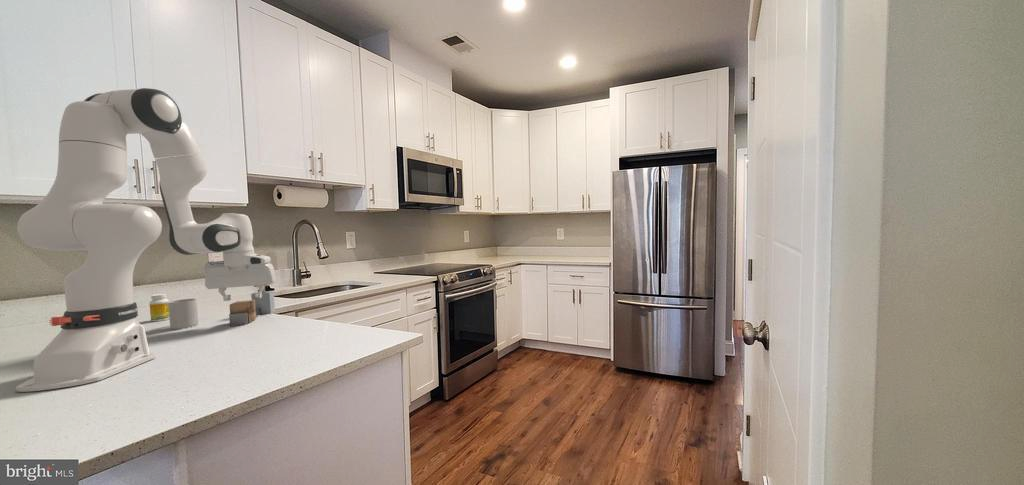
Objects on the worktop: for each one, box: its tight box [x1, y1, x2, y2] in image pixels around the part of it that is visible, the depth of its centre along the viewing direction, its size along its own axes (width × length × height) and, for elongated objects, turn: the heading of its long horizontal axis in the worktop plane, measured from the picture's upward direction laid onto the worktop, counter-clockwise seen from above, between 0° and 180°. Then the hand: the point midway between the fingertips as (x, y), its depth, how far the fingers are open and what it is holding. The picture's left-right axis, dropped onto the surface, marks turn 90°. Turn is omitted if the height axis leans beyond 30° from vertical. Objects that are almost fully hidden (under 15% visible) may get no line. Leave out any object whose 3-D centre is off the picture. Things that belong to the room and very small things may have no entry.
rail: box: [228, 308, 262, 327], centre depth 133 cm, size 16×5×4 cm, turn 16°
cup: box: [168, 298, 199, 330], centre depth 128 cm, size 7×10×9 cm
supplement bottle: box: [149, 293, 170, 323], centre depth 139 cm, size 5×5×10 cm
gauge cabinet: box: [250, 290, 276, 315], centre depth 144 cm, size 4×6×8 cm
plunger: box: [253, 284, 271, 293], centre depth 143 cm, size 3×4×5 cm
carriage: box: [229, 299, 257, 324], centre depth 130 cm, size 6×5×7 cm
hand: (243, 299), depth 130 cm, fingers open, 8 cm apart
